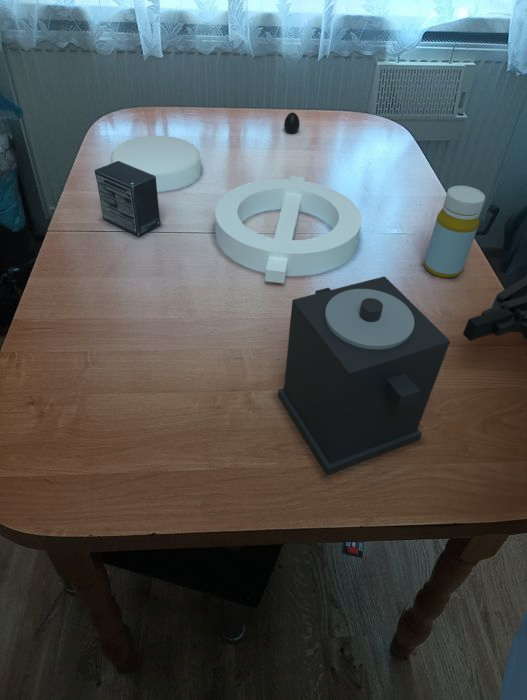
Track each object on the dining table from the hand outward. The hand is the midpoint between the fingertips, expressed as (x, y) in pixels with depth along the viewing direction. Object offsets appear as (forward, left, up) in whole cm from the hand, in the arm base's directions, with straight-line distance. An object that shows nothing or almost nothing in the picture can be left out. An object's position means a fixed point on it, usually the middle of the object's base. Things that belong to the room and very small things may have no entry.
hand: (469, 330), depth 72 cm
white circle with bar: (+45, +4, -10) cm, 46 cm away
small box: (+60, +31, -10) cm, 69 cm away
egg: (+91, -20, -10) cm, 94 cm away
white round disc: (+80, +20, -10) cm, 83 cm away
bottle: (+24, -18, -10) cm, 32 cm away
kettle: (0, +17, -10) cm, 20 cm away
